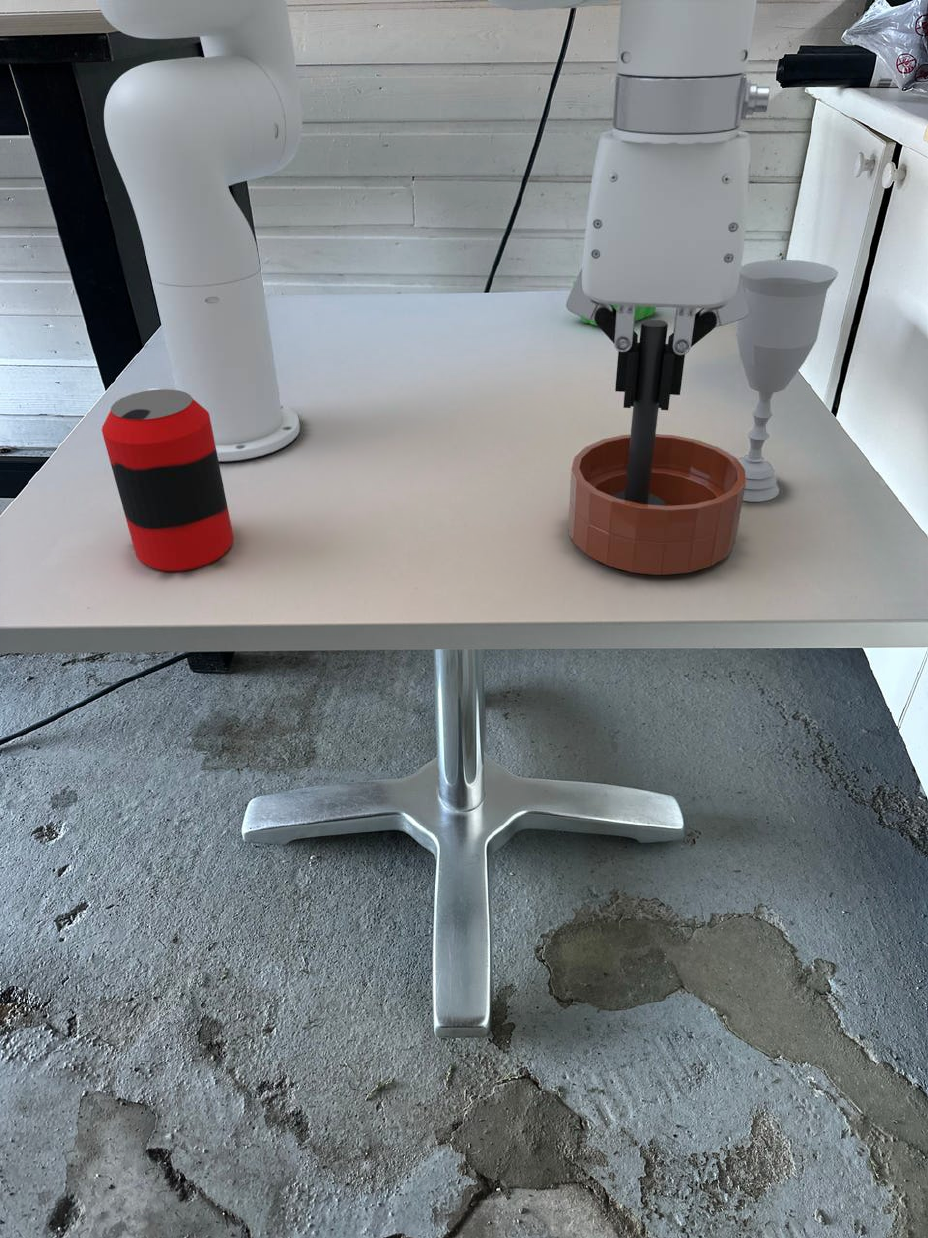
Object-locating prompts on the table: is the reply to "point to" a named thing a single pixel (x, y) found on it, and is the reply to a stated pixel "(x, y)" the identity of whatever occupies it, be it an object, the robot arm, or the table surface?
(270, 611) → the table surface
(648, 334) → the upright rod on disc
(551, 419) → the table surface
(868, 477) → the table surface
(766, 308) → the chalice
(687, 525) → the bowl
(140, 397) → the soda can
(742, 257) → the robot arm
